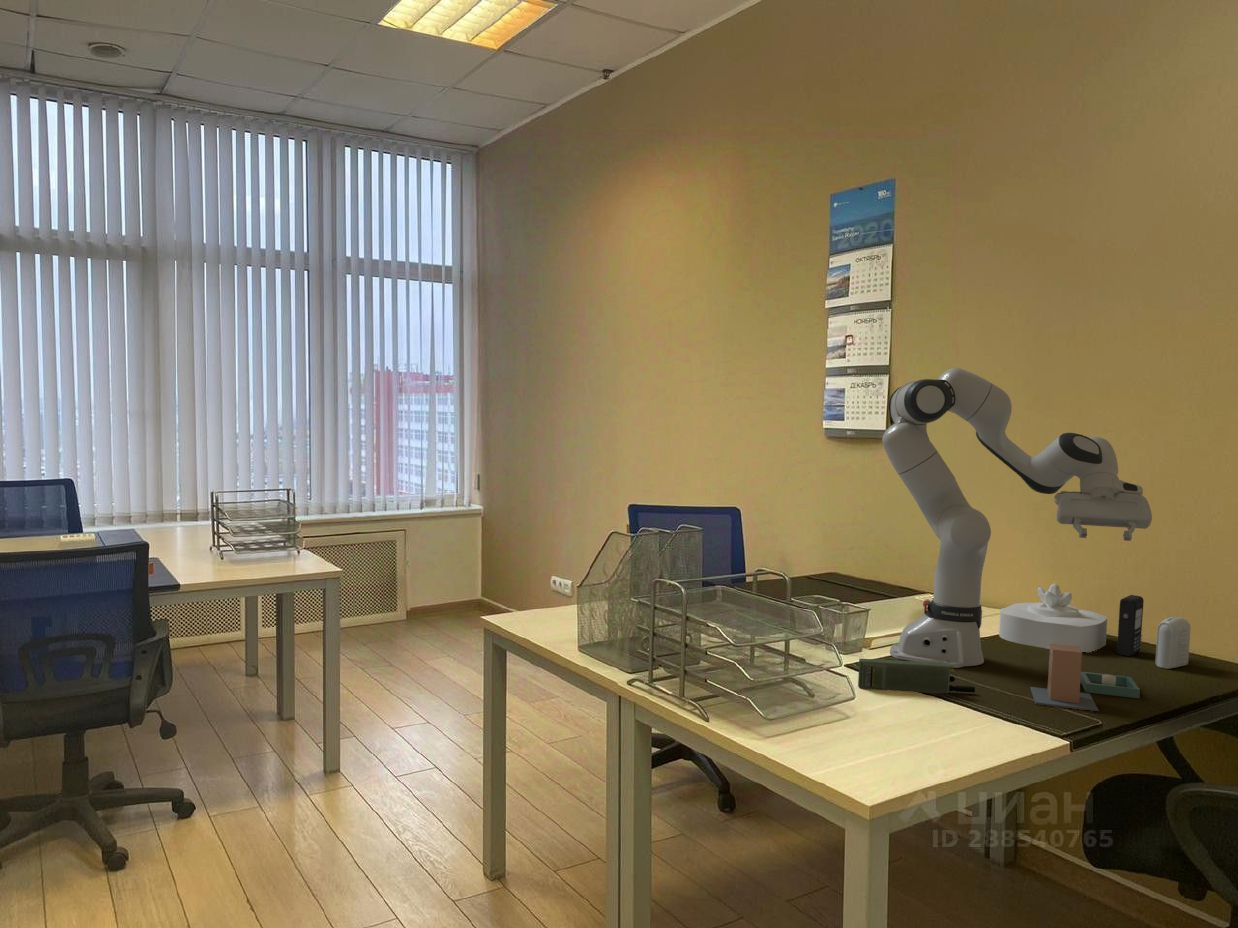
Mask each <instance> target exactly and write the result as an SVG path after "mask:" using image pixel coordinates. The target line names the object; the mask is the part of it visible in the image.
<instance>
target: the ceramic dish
mask: <svg viewBox="0 0 1238 928" xmlns="http://www.w3.org/2000/svg"><path fill="white" fill-rule="evenodd" d="M1080 685H1082V688H1083V689H1084V692H1085V693H1088V694H1099V695H1107V696H1115V697H1121V698H1133V699H1140V698H1141V697H1140V695H1141V689H1140V688H1139V686H1138V685H1137V684H1136V682H1135V681H1134V680H1133V678H1132V677H1131V676H1125V675H1115V674H1109V673H1096V672H1089V671H1081V678H1080Z"/></svg>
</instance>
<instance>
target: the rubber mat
mask: <svg viewBox="0 0 1238 928" xmlns="http://www.w3.org/2000/svg"><path fill="white" fill-rule="evenodd" d="M1047 689H1048V688H1043V687H1038V686H1037V687H1035V686H1030V692H1031V696H1032V697H1033V701H1034V703H1035V705H1036V704H1037V705H1038V706H1044V705H1046V706H1045V707H1052V706H1053V707H1054V708H1061V709H1062V708H1063V709H1068V708H1072V709H1071V710H1077V709H1079V710H1078V711H1085V710H1090V711H1089V712H1093V711H1098V712H1099V708H1098V707H1097V704H1096V702H1095V701H1094V699H1093V697H1092V696H1091V693H1088V692H1080V695H1079V703H1072V702H1064V701H1056V700H1050V698H1049V696H1048V693H1047Z"/></svg>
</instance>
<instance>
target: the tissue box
mask: <svg viewBox="0 0 1238 928" xmlns="http://www.w3.org/2000/svg"><path fill="white" fill-rule="evenodd" d="M1037 594H1038V597H1039V598H1040V600H1041V602H1019V603H1013V604H1011V605H1009V606H1006V607H1002V608H1000V612H999V628H998V629H999V631H998V636H999V637H1000V638H1001V639H1003V640H1006V641H1008V642H1012V643H1015V644H1021V645H1024V646H1025V645H1026V646H1029V647H1035V648H1041V649H1047V650H1050V644H1059V645H1069V646H1078V647H1079V648H1080V650H1081V652H1086V653H1093V652H1092V651H1094V652H1096V651H1098V650H1100V649H1102V648H1103V647H1105V646H1106V645H1107V632H1108V617H1107V616H1105V615H1104V614H1100V613H1098V612H1094V611H1093V610H1092V611H1090V610H1085V609H1078V608H1077V607H1074V606H1072V605H1070V604H1071V601H1072V599H1073V595H1072V593H1071V592H1068V591H1066V592H1063V593H1062V592H1061V589H1060V586H1059V585H1058V584H1057V583H1056V582H1054V583H1053V584H1051V585H1050V586H1049V588H1048V590H1046V589H1045V588H1043V587H1041V586H1039V587H1038V588H1037ZM1097 649H1098V650H1097ZM1095 650H1096V651H1095Z"/></svg>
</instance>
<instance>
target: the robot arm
mask: <svg viewBox="0 0 1238 928" xmlns="http://www.w3.org/2000/svg"><path fill="white" fill-rule="evenodd" d="M1012 406H1013V405H1012V401H1011V399H1010V396H1009V394H1008V393H1007V392H1005V390H1003V389H1002V388H1001V387H999V386H998V385H995V384H994V383H993V382H990V381H988V380H987V379H985V378H983V377H981V376H979V375H978V374H975V373H973V372H971V371H968V370H966V369H963V368H960V367H959V368H958V367H952V368H948V369H947V370H945V371H943V372H942V373H941V374H940V376H939V377H938V378H937V379H935V378H934V379H932V378H931V379H930V378H924V379H920V380H919V379H918V380H914V381H910V382H907V383H905V384H903V385H901V386H900V387H897V388H896V389H895V390H894V391H893V393H892V394H891V395H890V398H889V399H888V413H889V424H890V426H889V427H888V428H887V429H886V430H885V431H884V433H883V436H882V438H881V439H882V440H881V441H882V442H881V443H882V445H883V447H884V451H885V453H886V455H887V457H888V459H889V461H890V463H891V465H892V466H893V469H894V470H895V471H896V473H897V475H898V476H899V477H900V480H901V481H902V482H903V484H904V486H906V488H907V489H908V491H909V493H910V494H911V496H912V497H913V499H914V500H915V502H916V503H917V506H918V507H919V509H920V511H921V512H922V515H923V516H924V518H925V519H926V521H927V524H929V526H930V528H931V529H932V531H933V532H934V534H935V536H936V537H937V538H938V539H939V540H940V547H939V553H938V558H937V564H936V567H935V569H934V580H933V582H934V584H933V600H930V599H929V598H928V599H924V600H923V602H922V606H923V607H924V609H923V611H924V615H922V616H921V617H920V616H919V618H917V619H915V620H914V621H912V622H910V623H909V624H907V625H906V626H905V627H904V628H903V629H902V632H901V634H900V636H899V641H898V642H897V643H894V644H892V645H891V646H890V649H889V654H890V656H891V657H893V658H895V659H896V660H902V661H916V662H934V663H951V664H954V665H955V666H950V668H952V669H953V668H955V669H959V668H964V667H972V666H979V665H982V664H984V663H985V659H984V656H983V652H982V644H981V643H982V642H981V631H980V629H981V626H982V622H983V621H982V619H983V609H982V608H983V607H982V605H981V596H982V595H981V593H982V577H983V570H984V565H985V561H986V556H987V550H988V545H989V541H990V539H991V536H992V535H991V534H992V529H991V525H990V522H989V521H988V518H987V517H986V516H985V515H984V514H983V513H982V511H980V510H977V509H976V508H973V507H972V506H971V504H969V501H968V500H967V498H966V497H965V495H964V493H963V492H962V489H961V488H960V486H959V484H958V482H957V480H956V477H955V475H954V474H953V473H952V470H950V468H949V466H948V465H947V463H946V462H945V460H944V459H943V457H942V456H941V454H940V452H939V451H938V450H937V448H936V446H935V445H934V444H933V443H932V441H931V440H930V437H929V435H928V431H927V429H928V428H927V425H928V424H930V423H933V422H935V421H937V420H939V419H940V418H942V417H943V416H944V415H945V414H947V412H950V413H953V414H956V415H957V417H959V418H961V419H963V420H964V421H965V422H968V424H970V425H971V427H972V428H973V429H975V436H976V438H977V440H978V441H979V443H981V445H982V446H983V447H984V448H986V450H988V451H989V452H990V453H991V454H992V455H994V456H995V457H996V458H998V460H999V461H1000V462H1002V463H1003V464H1004V465H1006V467H1007V468H1009V469H1011V470H1012V471H1013V472H1014V473H1016V475H1018V476H1019V477H1020V478H1021V480H1022V481H1023V482H1024V483H1025V484H1026V485H1027V486H1028V487H1029V488H1030V489H1031V490H1033V492H1036V493H1039V494H1046V495H1054V502H1055V504H1056V505H1057V509H1056V521H1057V522H1058V523H1059V524H1061V525H1072V528H1073V529H1074V530H1076V532H1078V537H1079V538H1080V539H1087V536H1088V532H1087V531H1088V530H1087V528H1085V527H1083V526H1090V527H1091V526H1093V527H1108V528H1110V527H1111V528H1125V529H1126V528H1127V530H1124V532H1123V533H1122V537H1123V541H1129V542H1130V541H1131V542H1132V538H1133V535H1132V534H1134V531H1135V530H1136V529H1144V530H1145V529H1148V528H1149V527H1150V526H1151V524H1152V520H1153V514H1152V510H1151V507H1150V504H1149V501H1148V499H1147V498H1146V497H1145V496H1144V495H1143V493H1144V489H1143V487H1142V486H1141V485H1139V484H1134V483H1130V482H1128V481H1127V482H1126V481H1123V480H1121V479H1119V477H1118V473H1119V463H1118V458H1117V454H1116V453H1115V450H1114V448H1113V445H1112V444H1111V443H1110V441H1108V440H1107V439H1105V438H1103V437H1099V436H1090V437H1088V436H1086V435H1084V434H1079V433H1076V432H1075V433H1074V432H1063V433H1062V434H1060V435H1059V436H1057V437H1056V439H1054V440H1053V441H1052V442H1051V443H1049V444H1048V445H1047V446H1046V447H1045V448H1044V449H1043V450H1041V451H1040V452H1039V453H1038V454H1036V455H1029V454H1028V453H1026V452H1025V451H1024V450H1023V449H1022V448H1021V447H1019V445H1017V444H1016V443H1014V442H1013V441H1012V440H1011V439H1010V438H1009V437H1008V435H1007V433H1006V430H1007V426H1009V425H1008V424H1009V422H1010V419H1011V415H1012ZM1074 477H1077V478H1078V479H1079V489H1080V491H1067V490H1062V491H1059V490H1060V489H1061V488H1063V486H1065V484H1066V483H1067V482H1068V481H1070V480H1071V479H1073V478H1074ZM1058 491H1059V492H1058Z"/></svg>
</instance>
